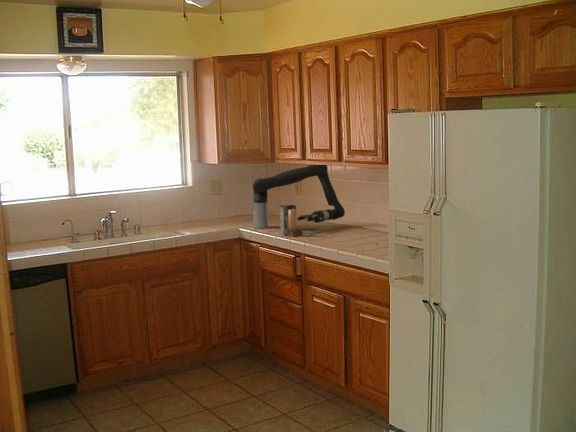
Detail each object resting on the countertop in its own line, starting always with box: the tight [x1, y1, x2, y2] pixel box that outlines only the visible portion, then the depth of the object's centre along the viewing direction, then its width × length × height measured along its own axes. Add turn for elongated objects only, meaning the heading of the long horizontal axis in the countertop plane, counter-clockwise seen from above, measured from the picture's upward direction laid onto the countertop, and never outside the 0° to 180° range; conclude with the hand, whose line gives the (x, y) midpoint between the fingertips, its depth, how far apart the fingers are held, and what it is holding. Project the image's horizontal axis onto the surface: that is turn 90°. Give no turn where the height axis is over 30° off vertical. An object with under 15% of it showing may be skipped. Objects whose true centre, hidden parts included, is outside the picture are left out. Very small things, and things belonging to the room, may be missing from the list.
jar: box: [288, 209, 298, 232], centre depth 421 cm, size 5×5×16 cm
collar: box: [282, 229, 303, 238], centre depth 422 cm, size 8×8×3 cm
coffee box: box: [279, 204, 297, 231], centre depth 444 cm, size 9×6×16 cm
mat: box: [302, 230, 321, 235], centre depth 429 cm, size 9×9×1 cm
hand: (303, 219), depth 428 cm, fingers open, 8 cm apart
